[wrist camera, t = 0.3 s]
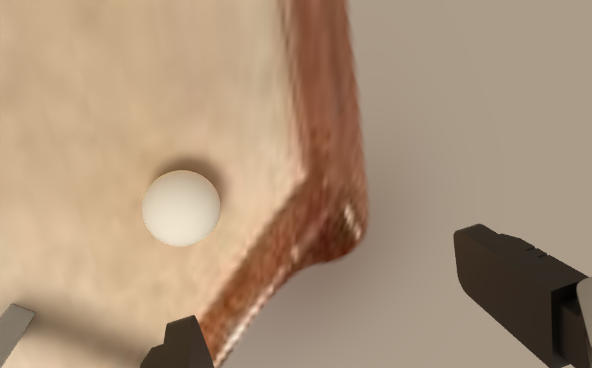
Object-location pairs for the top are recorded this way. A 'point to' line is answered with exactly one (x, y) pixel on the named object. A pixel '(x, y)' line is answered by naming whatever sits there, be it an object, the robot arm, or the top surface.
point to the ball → (181, 208)
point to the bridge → (12, 329)
